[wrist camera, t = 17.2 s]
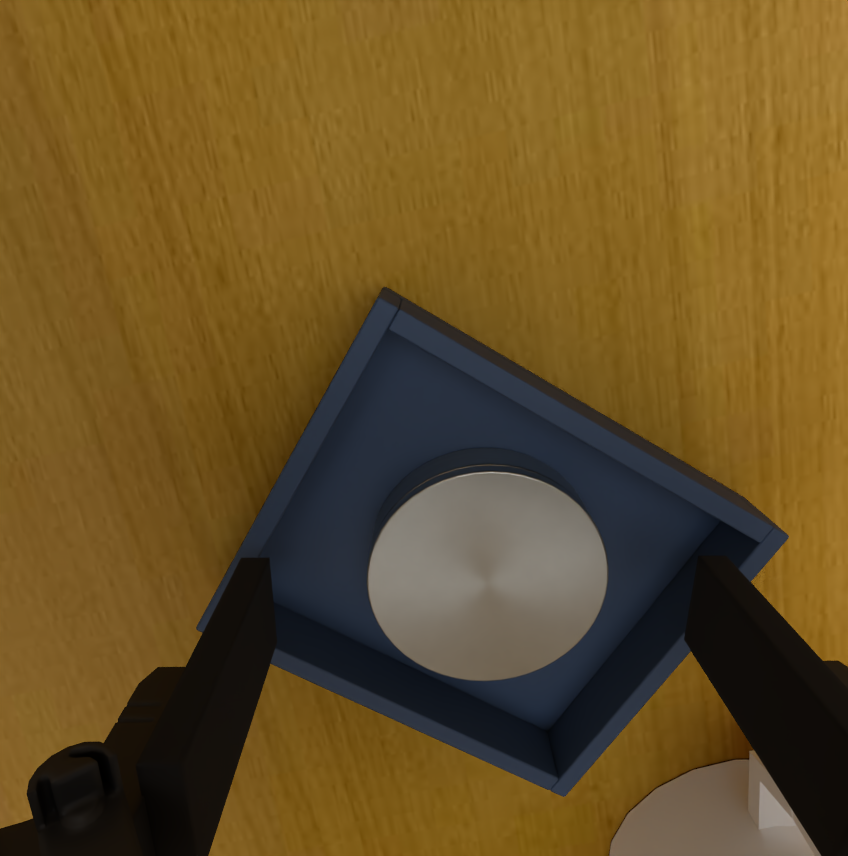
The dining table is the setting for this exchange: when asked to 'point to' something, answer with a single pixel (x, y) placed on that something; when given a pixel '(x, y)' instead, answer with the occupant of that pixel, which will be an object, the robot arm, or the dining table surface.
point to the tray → (468, 429)
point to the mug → (715, 816)
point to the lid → (485, 565)
